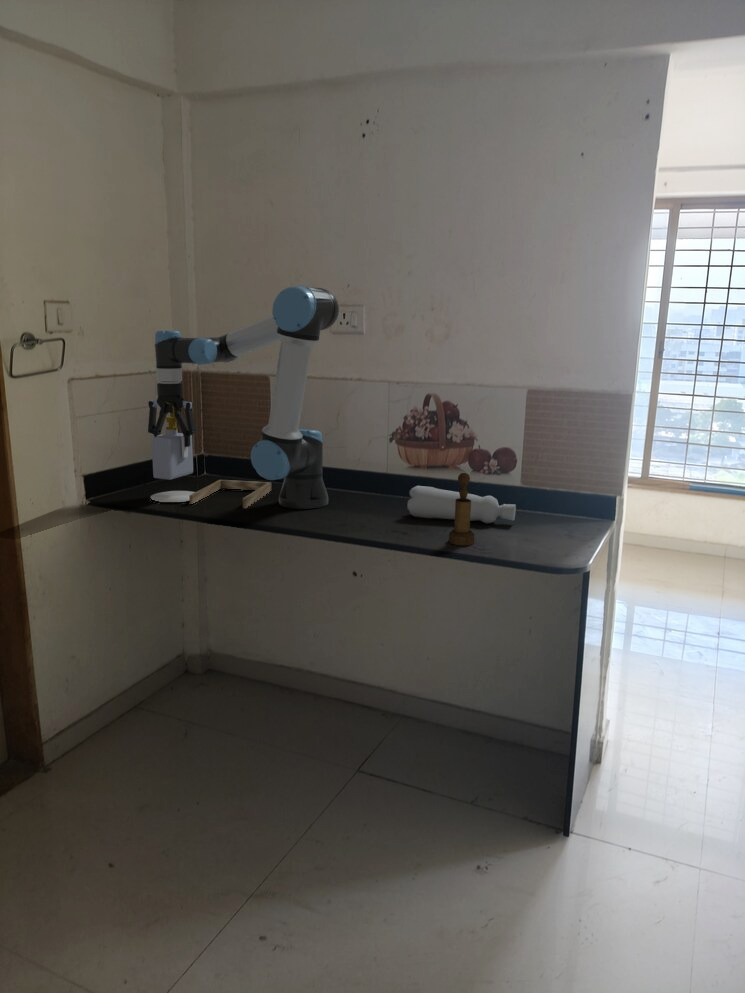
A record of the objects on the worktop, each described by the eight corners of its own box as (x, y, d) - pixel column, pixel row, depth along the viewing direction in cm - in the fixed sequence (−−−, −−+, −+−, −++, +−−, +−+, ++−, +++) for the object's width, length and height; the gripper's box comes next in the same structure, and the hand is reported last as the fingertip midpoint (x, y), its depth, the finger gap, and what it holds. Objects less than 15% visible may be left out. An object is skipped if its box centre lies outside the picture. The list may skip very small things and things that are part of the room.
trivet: (207, 494, 246) (207, 492, 246) (187, 505, 231) (187, 502, 231) (163, 492, 249) (163, 489, 248) (141, 502, 234) (141, 500, 234)
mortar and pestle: (476, 545, 193) (479, 475, 189) (451, 546, 193) (453, 476, 189) (471, 538, 200) (474, 470, 196) (446, 538, 199) (449, 470, 195)
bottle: (404, 509, 216) (511, 522, 207) (410, 480, 219) (515, 491, 210) (410, 520, 224) (513, 533, 215) (416, 491, 227) (517, 503, 218)
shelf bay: (271, 491, 251) (271, 482, 251) (246, 508, 228) (245, 498, 228) (220, 488, 255) (219, 479, 254) (189, 504, 232) (189, 495, 231)
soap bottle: (176, 471, 245) (173, 398, 240) (194, 473, 243) (191, 399, 237) (152, 478, 234) (148, 401, 229) (170, 480, 232) (166, 403, 226)
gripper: (206, 382, 234) (208, 456, 239) (144, 380, 237) (148, 453, 243) (195, 384, 226) (198, 460, 232) (132, 382, 230) (136, 457, 235)
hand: (173, 456), depth 237 cm, fingers closed on soap bottle, 7 cm apart
